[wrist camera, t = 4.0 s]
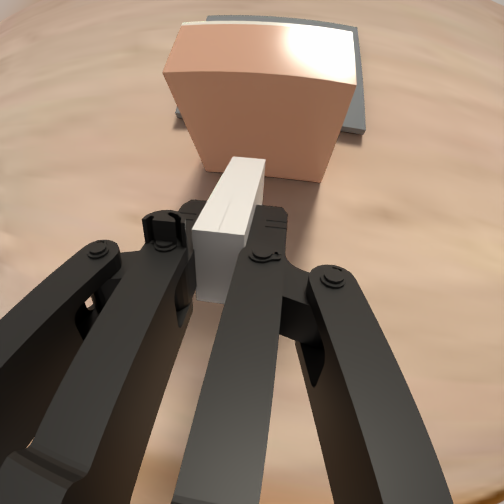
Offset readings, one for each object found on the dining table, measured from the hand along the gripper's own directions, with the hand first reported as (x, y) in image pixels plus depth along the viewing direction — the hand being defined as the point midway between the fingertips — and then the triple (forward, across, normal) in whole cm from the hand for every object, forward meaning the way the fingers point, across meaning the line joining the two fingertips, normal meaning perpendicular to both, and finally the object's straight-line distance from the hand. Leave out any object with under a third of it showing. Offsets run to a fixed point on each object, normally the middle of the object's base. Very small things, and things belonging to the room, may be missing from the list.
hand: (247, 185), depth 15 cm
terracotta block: (+11, 0, -2) cm, 11 cm away
